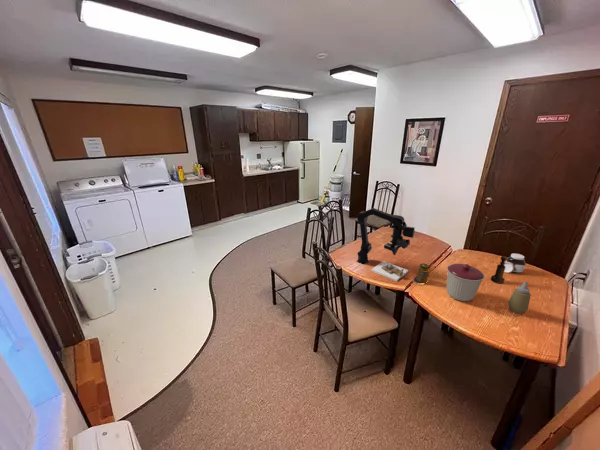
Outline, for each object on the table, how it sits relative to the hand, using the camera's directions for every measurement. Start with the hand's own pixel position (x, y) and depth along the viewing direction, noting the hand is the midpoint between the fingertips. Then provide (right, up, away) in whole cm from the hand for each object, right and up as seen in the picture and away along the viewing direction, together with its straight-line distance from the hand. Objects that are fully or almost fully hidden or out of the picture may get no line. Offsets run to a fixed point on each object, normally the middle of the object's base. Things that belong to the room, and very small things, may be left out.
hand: (394, 255), depth 168 cm
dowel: (+4, -12, -3) cm, 13 cm away
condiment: (+13, -16, -10) cm, 23 cm away
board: (-2, -12, +2) cm, 12 cm away
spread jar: (+80, -11, -2) cm, 81 cm away
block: (-1, -11, -1) cm, 11 cm away
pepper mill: (+62, -16, -12) cm, 65 cm away
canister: (+29, -21, -25) cm, 44 cm away
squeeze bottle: (+51, -26, -38) cm, 69 cm away
